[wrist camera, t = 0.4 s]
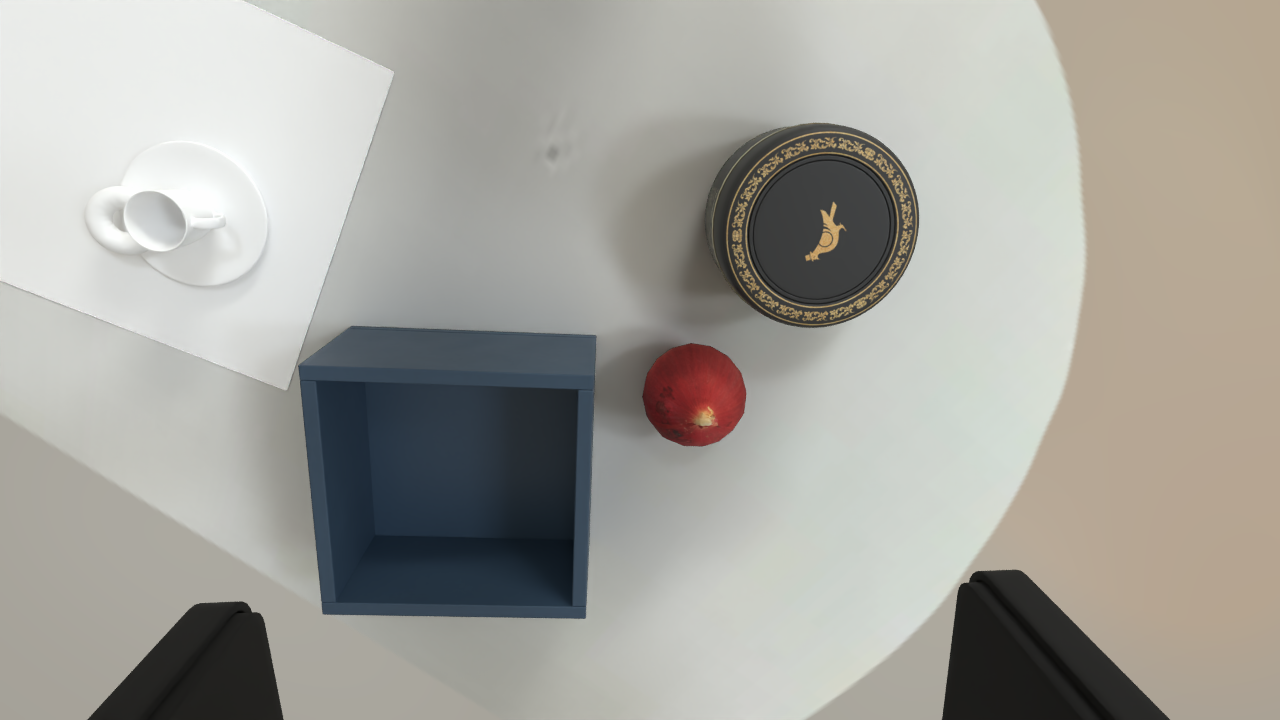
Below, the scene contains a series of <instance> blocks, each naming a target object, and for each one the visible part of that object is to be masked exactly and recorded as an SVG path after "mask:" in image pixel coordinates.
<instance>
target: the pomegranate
mask: <svg viewBox="0 0 1280 720" xmlns="http://www.w3.org/2000/svg"><path fill="white" fill-rule="evenodd" d="M642 397H643V401H644V406H645V410H646V415H647V417H648V419H649V421H650V422H651V423H652V424H653V426H654V427H655V428H656V429H657V431H658V432H659V433H660V434H661V435H662V437H664V438H666V439H668V440H671V441H673V442H676V443H678V444H681V445H683V446H706V445H709V444H712V443H715V442H718V441H720V440H721V439H722V438H724V437H725V436H726V435H727V434H729V433H730V432H731V431H732V430H733V429H734V428H735V426H736V425H737V423H738V422H739V420H740V419H741V417H742V416H743V414H744V408H745V401H746V389H745V385H744V382H743V378H742V374H741V372H740V371H739V370H738V368H737V367H736V366H735V364H734V363H733V362H732V361H731V359H730V358H729V357H728V356H726V355H725V354H723V353H721V352H720V351H718V350H716V349H714V348H713V347H711V346H706V345H699V344H693V343H690V344H686V345H682V346H678V347H675V348H672V349H670V350H669V351H667V352H666V353H665V354H663V355H662V356H660V357H659V358H658V359H657V360H656V361H655V363H654V364H653V366H652V367H651V369H650V370H649V372H648V373H647V376H646V381H645V386H644V391H643V396H642Z"/></svg>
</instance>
